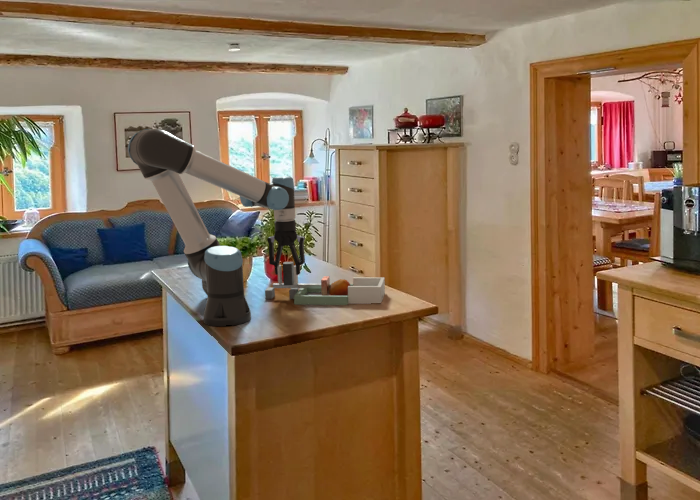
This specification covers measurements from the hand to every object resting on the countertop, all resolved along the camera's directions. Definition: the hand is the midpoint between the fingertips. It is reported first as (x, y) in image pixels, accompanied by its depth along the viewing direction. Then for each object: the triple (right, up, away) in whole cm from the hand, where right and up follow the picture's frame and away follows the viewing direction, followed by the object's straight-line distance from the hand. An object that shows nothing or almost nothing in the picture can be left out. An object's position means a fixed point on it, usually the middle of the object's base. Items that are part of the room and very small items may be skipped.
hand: (288, 283), depth 232 cm
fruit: (+19, -6, -2) cm, 20 cm away
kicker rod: (+5, -5, 0) cm, 7 cm away
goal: (+28, -5, -3) cm, 29 cm away
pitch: (+7, -5, 0) cm, 9 cm away
